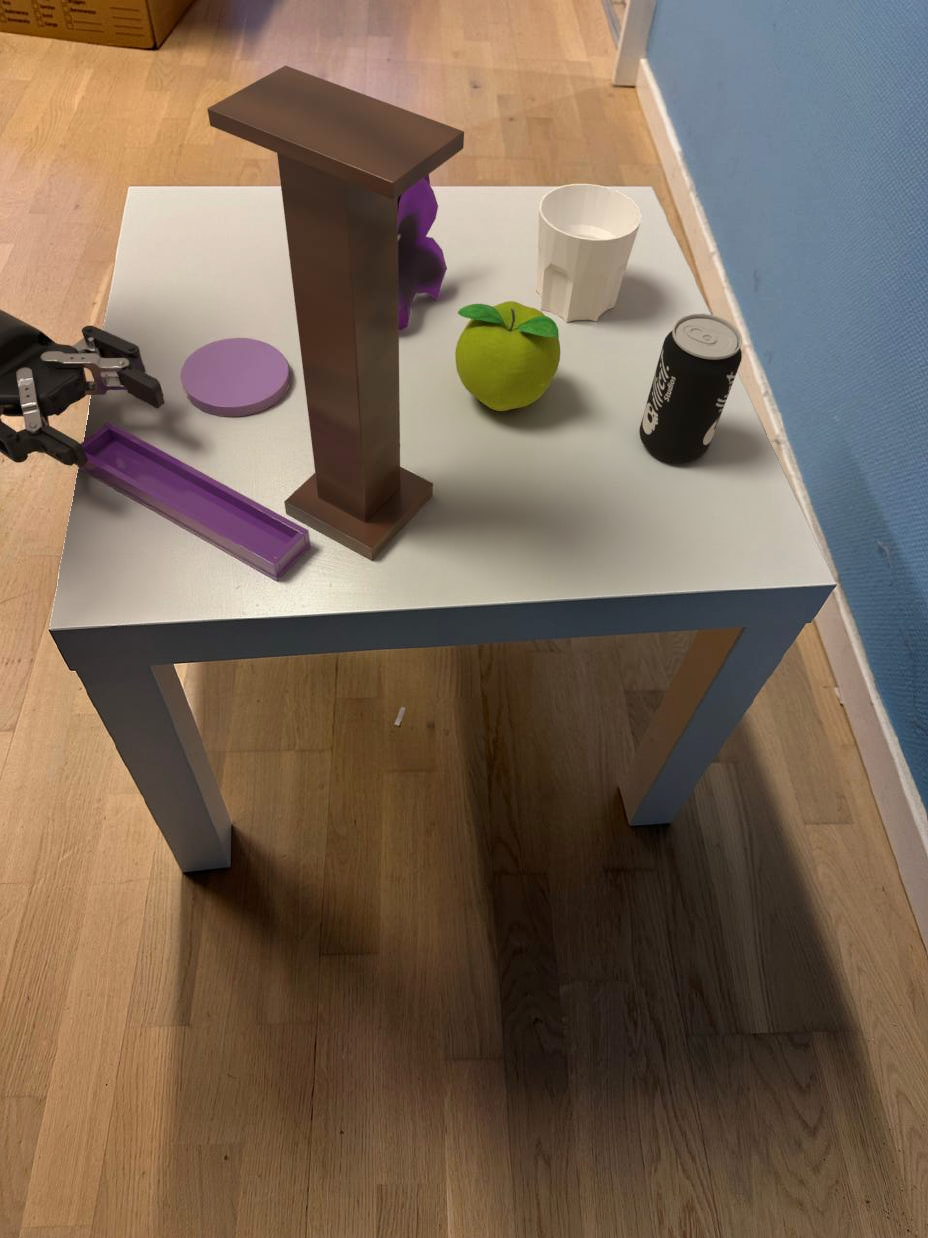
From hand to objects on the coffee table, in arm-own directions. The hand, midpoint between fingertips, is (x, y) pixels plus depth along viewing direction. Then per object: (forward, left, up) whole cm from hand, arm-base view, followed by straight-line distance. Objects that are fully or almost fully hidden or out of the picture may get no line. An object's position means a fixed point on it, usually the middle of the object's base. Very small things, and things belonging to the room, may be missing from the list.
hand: (122, 425), depth 72 cm
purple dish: (0, -6, -6) cm, 8 cm away
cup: (+46, -18, -6) cm, 49 cm away
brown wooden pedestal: (+9, -17, -6) cm, 20 cm away
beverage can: (+32, -36, -6) cm, 48 cm away
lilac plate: (+15, +2, -6) cm, 16 cm away
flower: (+34, 0, -6) cm, 34 cm away
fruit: (+28, -20, -6) cm, 35 cm away
